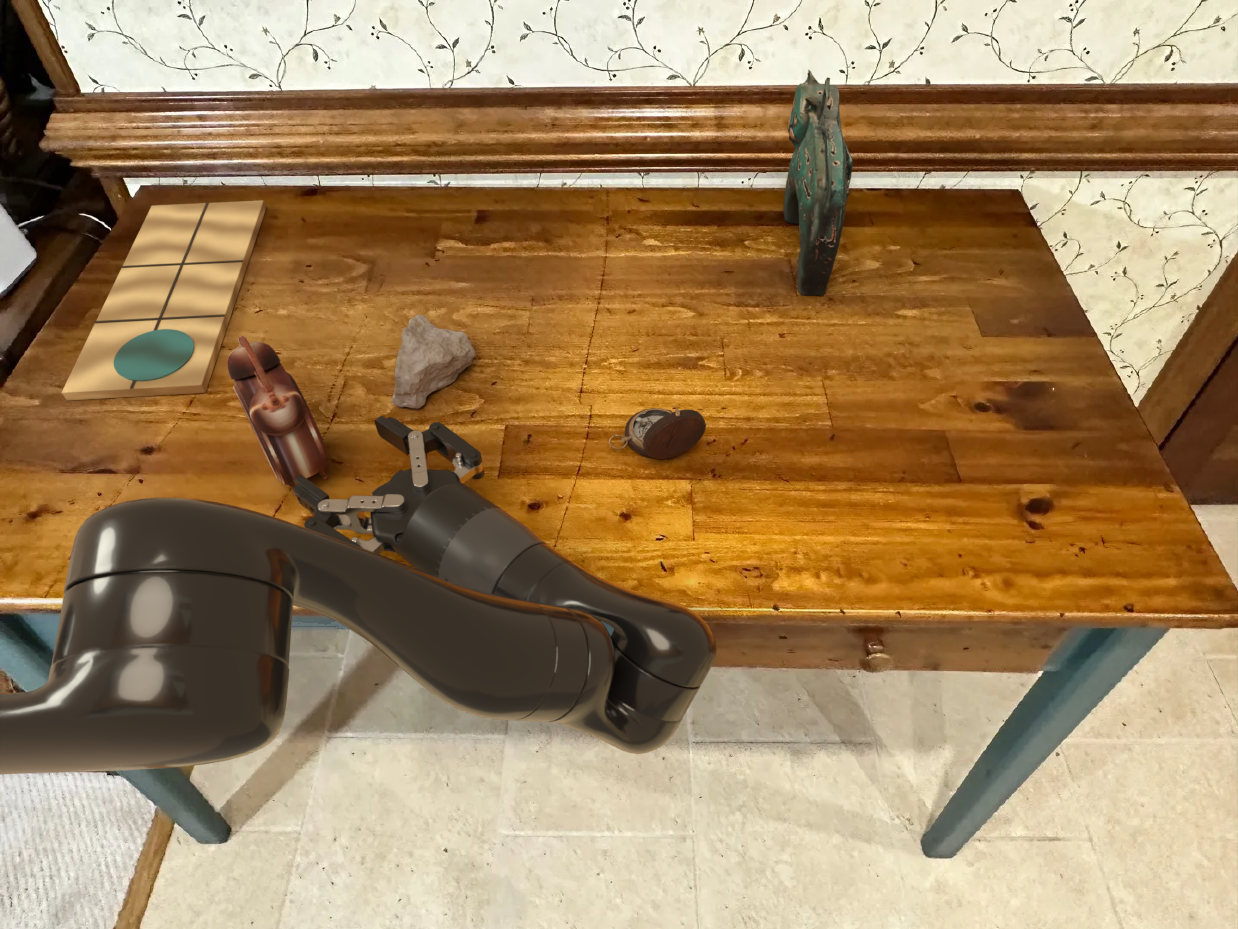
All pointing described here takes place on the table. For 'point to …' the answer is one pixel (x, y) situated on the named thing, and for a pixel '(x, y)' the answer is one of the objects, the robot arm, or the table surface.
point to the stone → (428, 361)
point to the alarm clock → (277, 412)
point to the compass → (663, 432)
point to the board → (169, 303)
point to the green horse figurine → (817, 181)
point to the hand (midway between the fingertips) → (339, 453)
